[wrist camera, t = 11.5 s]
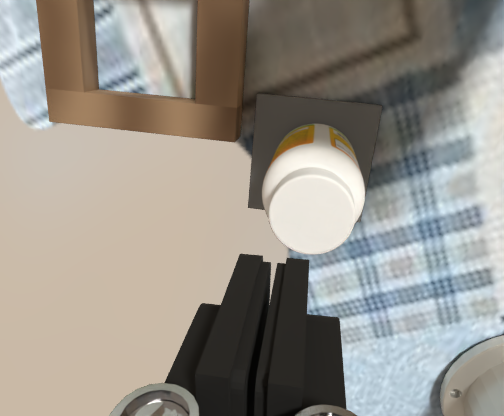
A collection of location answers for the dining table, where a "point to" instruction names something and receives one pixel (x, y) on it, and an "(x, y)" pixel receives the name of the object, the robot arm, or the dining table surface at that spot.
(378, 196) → the dining table surface
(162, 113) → the well board
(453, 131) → the dining table surface
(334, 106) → the pad
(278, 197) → the supplement bottle
